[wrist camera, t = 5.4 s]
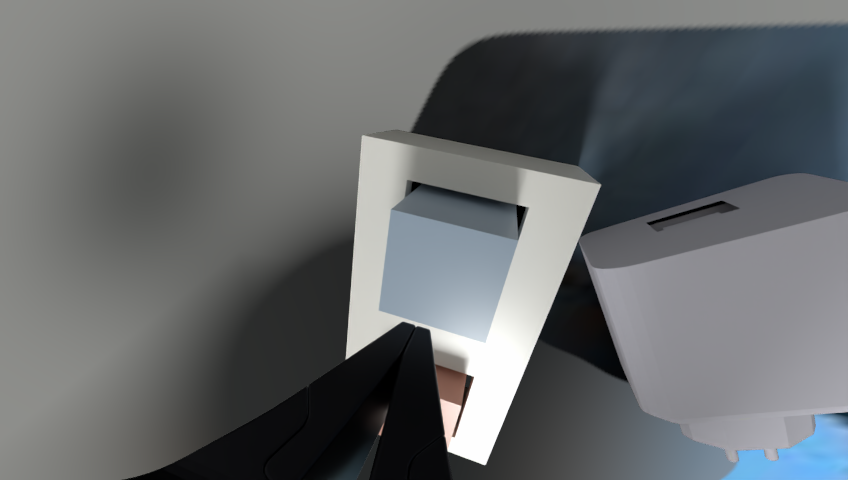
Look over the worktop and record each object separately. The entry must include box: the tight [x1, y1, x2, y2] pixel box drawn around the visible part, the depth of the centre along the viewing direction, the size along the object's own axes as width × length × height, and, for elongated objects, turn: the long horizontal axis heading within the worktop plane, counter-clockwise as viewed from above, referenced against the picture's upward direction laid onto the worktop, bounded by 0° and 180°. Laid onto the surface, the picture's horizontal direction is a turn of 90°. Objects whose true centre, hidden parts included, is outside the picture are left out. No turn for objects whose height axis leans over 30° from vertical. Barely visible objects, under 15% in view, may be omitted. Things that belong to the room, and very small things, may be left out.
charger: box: [579, 173, 848, 462], centre depth 15 cm, size 5×9×15 cm
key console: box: [346, 130, 601, 465], centre depth 19 cm, size 18×10×4 cm, turn 171°
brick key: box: [378, 364, 467, 450], centre depth 19 cm, size 5×5×4 cm
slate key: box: [379, 184, 518, 343], centre depth 14 cm, size 5×5×4 cm
